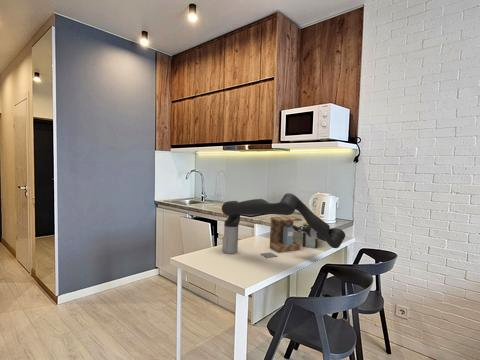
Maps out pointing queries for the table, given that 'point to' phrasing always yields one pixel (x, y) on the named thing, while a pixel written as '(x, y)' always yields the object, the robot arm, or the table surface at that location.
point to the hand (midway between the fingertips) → (298, 226)
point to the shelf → (277, 234)
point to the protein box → (309, 240)
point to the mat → (269, 255)
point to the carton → (288, 235)
